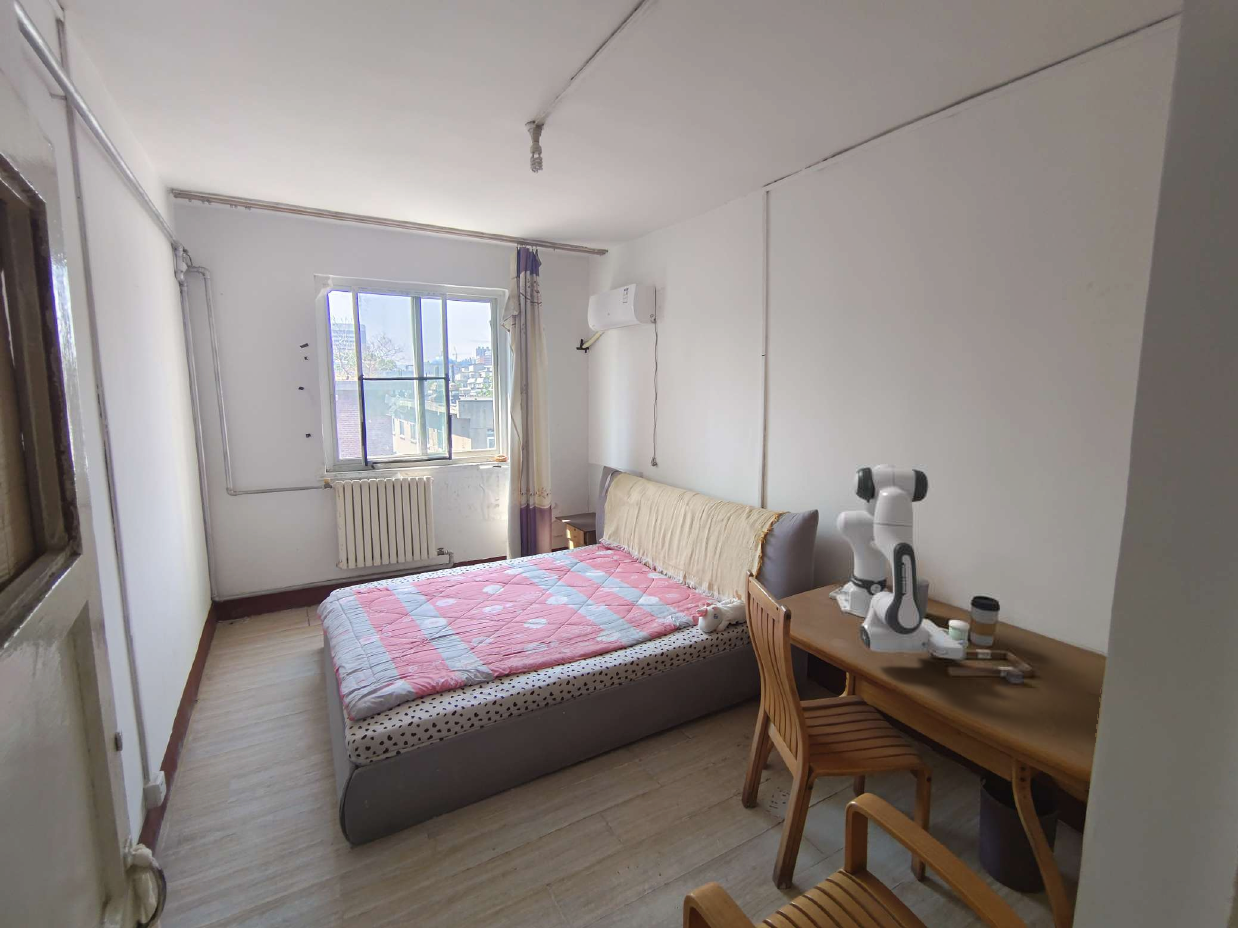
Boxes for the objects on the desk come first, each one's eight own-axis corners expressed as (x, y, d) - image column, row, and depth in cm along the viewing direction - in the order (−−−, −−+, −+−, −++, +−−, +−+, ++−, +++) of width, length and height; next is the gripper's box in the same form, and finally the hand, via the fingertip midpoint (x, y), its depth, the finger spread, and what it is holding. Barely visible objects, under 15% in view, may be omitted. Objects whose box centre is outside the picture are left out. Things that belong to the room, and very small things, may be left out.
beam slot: (927, 655, 183) (928, 646, 182) (1006, 656, 182) (1007, 647, 182) (957, 682, 166) (958, 672, 166) (1043, 683, 166) (1044, 673, 166)
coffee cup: (966, 634, 198) (971, 593, 195) (995, 640, 193) (1000, 598, 191) (966, 644, 191) (971, 601, 188) (996, 650, 186) (1001, 606, 184)
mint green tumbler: (942, 652, 179) (945, 619, 177) (959, 652, 179) (962, 619, 177) (951, 660, 173) (955, 627, 172) (969, 660, 173) (973, 627, 172)
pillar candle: (891, 611, 217) (894, 573, 215) (909, 606, 221) (912, 570, 219) (914, 621, 209) (917, 582, 206) (932, 616, 213) (935, 578, 210)
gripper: (934, 643, 165) (982, 644, 164) (900, 614, 185) (943, 614, 185) (932, 663, 165) (980, 664, 165) (899, 632, 186) (941, 633, 186)
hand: (960, 638), depth 175 cm, fingers closed on mint green tumbler, 5 cm apart
